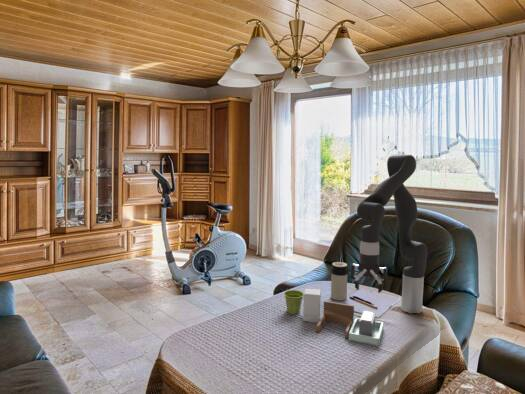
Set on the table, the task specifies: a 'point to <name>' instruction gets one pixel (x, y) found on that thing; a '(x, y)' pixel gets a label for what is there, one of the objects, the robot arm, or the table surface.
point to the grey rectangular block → (367, 323)
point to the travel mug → (339, 281)
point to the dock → (337, 315)
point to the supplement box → (311, 305)
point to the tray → (365, 339)
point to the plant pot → (293, 300)
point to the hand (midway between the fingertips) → (368, 290)
